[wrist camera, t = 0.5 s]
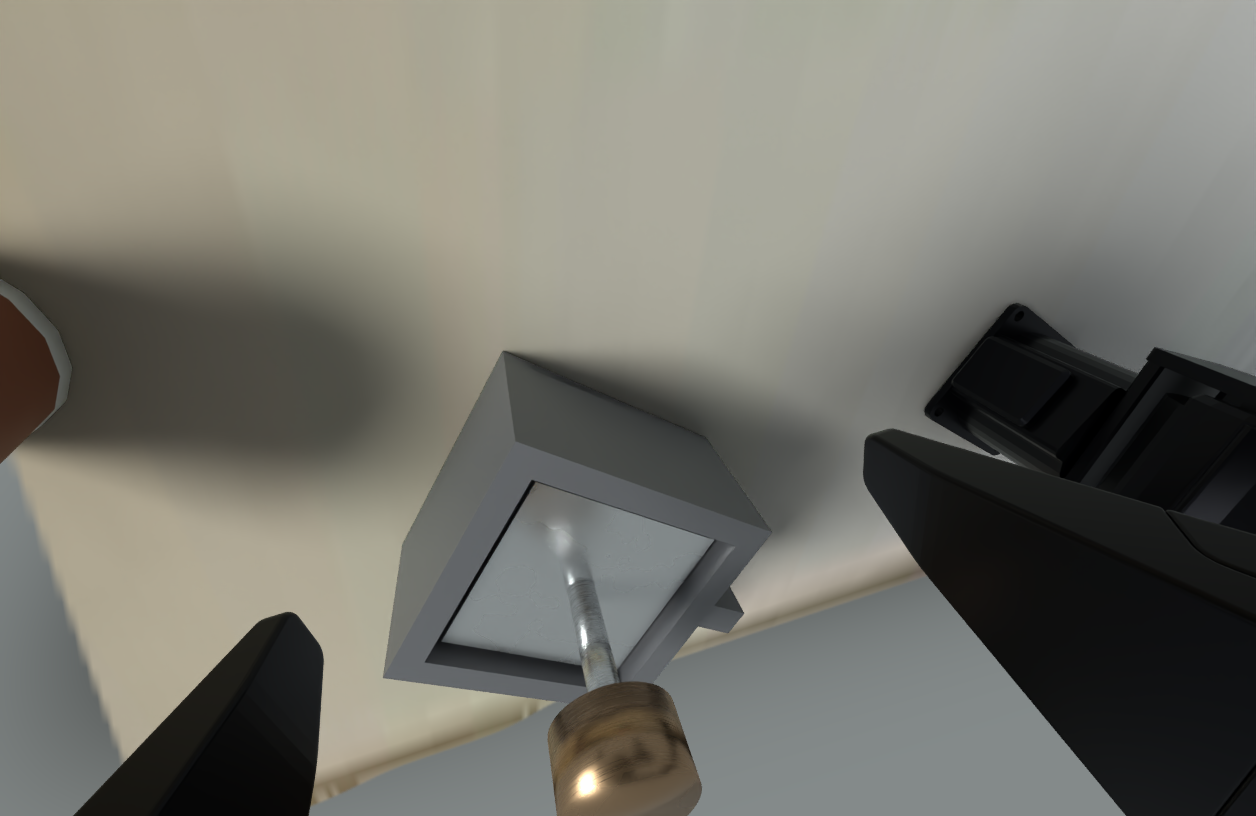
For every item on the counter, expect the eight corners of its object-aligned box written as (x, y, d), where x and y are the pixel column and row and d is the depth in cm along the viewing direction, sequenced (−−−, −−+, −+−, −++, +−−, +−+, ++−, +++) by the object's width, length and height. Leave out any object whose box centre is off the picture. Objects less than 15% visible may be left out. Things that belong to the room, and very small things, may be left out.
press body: (746, 455, 26) (819, 549, 21) (638, 602, 29) (678, 717, 24) (502, 351, 21) (515, 441, 15) (402, 544, 24) (382, 677, 18)
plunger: (708, 529, 21) (821, 732, 14) (612, 658, 23) (671, 886, 16) (533, 470, 17) (574, 697, 11) (442, 627, 20) (429, 894, 13)
